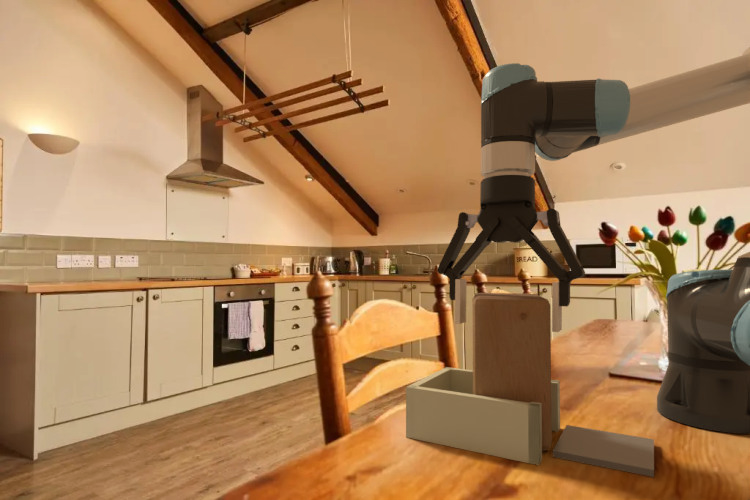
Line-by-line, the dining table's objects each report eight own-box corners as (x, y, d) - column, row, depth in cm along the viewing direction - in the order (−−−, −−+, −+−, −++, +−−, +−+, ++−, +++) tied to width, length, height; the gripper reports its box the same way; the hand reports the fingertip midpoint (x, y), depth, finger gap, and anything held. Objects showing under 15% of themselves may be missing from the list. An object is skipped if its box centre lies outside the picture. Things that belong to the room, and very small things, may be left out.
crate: (560, 428, 70) (559, 380, 70) (538, 465, 57) (538, 406, 57) (446, 408, 79) (446, 367, 79) (406, 437, 66) (406, 386, 66)
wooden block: (553, 454, 60) (551, 298, 61) (473, 448, 62) (472, 296, 63) (541, 427, 70) (540, 293, 71) (473, 423, 72) (472, 292, 73)
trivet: (654, 445, 63) (653, 439, 63) (653, 477, 54) (653, 470, 54) (566, 430, 69) (566, 424, 69) (552, 456, 59) (552, 450, 59)
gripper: (606, 175, 64) (606, 331, 63) (437, 187, 77) (435, 317, 76) (601, 164, 58) (600, 338, 57) (417, 180, 70) (415, 322, 70)
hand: (506, 326), depth 67 cm, fingers open, 13 cm apart
